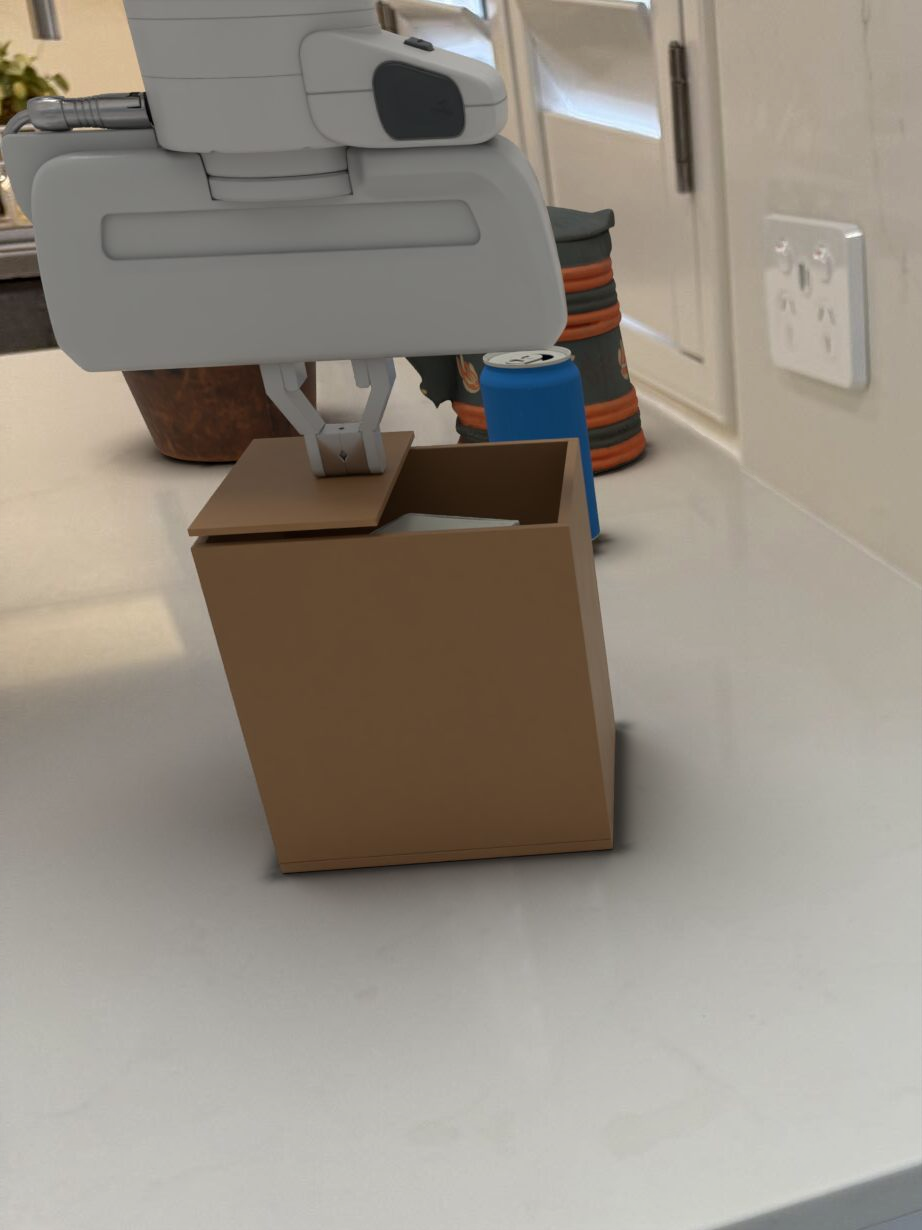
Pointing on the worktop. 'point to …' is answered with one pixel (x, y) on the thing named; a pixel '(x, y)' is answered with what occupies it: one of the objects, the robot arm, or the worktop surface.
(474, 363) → the beer stein
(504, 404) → the beverage can
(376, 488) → the flap
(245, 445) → the brown plant pot
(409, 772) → the carton
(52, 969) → the worktop surface
